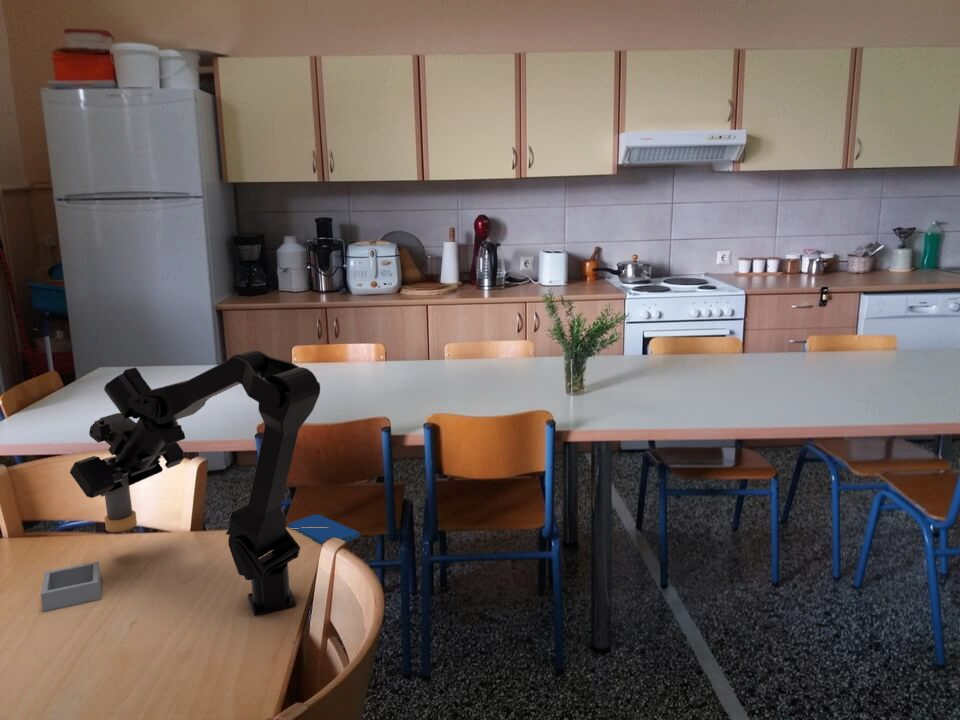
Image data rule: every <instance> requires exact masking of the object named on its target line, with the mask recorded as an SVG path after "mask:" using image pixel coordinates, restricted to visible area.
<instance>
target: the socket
mask: <svg viewBox="0 0 960 720" xmlns="http://www.w3.org/2000/svg"><path fill="white" fill-rule="evenodd" d="M101 583H102V574H101V567H100V561H99V560H98V561H94V562H88V563H84V564H79V565H74V566H69V567H63V568H57V569H55V570H54V569H53V570H49V571H44V574H43V581H42V585H41V586H42V587H41V590H40V597H41V603H42V610H43V612H49V611H52V610H57V609H61V608H62V609H63V608H67V607H71V606H74V605H75V606H76V605H81V604H85V603H90V602H93V601H99V600H101V599H102V598H101V595H102V594H101V593H102V591H101V590H102V587H101V586H102V585H101Z"/></svg>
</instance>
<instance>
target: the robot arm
mask: <svg viewBox="0 0 960 720" xmlns="http://www.w3.org/2000/svg"><path fill="white" fill-rule="evenodd" d="M238 385H241V386H242V388H243V389H244V392H245V393H246V395H247V397H249V398H250V399H252V400H254V401H255V402H257V403H258V413H259V415H260V416H261V419H262V421H263V424H264V428H263V434H262V436H261V437H262V438H261V441H260V447H259V451H258V456H257V461H256V466H255V471H254V475H253V480H252V484H251V490H250V493H249V494H250V495H249V498H248V503H247V504H246V505H244V506H242V507H240V508H238V509H236V510H234V511H232V512H231V515H230V519H229V527H228V529H227V531H226V533H225V534H226V536H228V541H227V542H228V548H229V550H230V553H231V557H232V560H233V562H234V565H235V567H236V570H237V573H238V575H240V576H243V577H244V580H245V581H251V582H250V583H251V593H248V594H247V599H248V601H249V606H250V607H251V610H252V613H253V615H254V616H261V615H265V614H267V613H271V612H276V611H279V610H283V609H287V608H291V607H292V608H293V607H295V606H296V605H297V601H296V598H295V595H293V592H292V590H291V588H290V576H289V575H290V574H289V563H290V562H292V561H293V560H295V559H297V558H298V557H299V554H300V550H301V546H300V545H299V544H298V542H297V541H296V540H295V538H294V537H293V535H292V534H291V533H290V531H288V530H287V517H286V515H285V513H284V511H283V509H282V503H283V499H284V495H285V490H286V487H287V482H288V481H287V480H288V478H289V473H290V470H291V469H290V468H291V464H292V460H293V457H294V452H295V447H296V444H297V438H298V435H299V431H300V429H301V427H302V425H303V424H304V423H305V422H306V420H307V419H308V418H309V416H310V415H311V413H312V412H313V411H314V409H315V406H316V403H317V401H318V399H319V397H320V393H321V384H320V382H319V381H318V380H317V377H316V375H315V374H314V373H313V372H312V371H311V370H310V369H309V368H306V367H300V366H298V365H296V364H295V363H293V362H289V361H286V360H284V359H283V360H282V359H279V358H276V357H271V356H269V355H268V354H266V353H264V352H262V351H259V350H254V349H253V350H250V351H245V352H240V353H237V354H234V355H232V356H231V357H230V358H229V359H227V360H225V361H224V362H222V363H219V364H218V365H215V366H214V367H212V368H209V369H208V370H206V371H204V372H201V373H200V374H198V375H196V376H193V377H192V378H191V379H187V380H184V381H182V380H181V381H180V382H175V383H173V384H168V385H164V386H161V387H157V388H151V387H150V386H149V384H148V383H147V381H146V380H145V379H144V378H143V375H142V374H141V373H140V371H139V370H138V368H137V367H131V368H126V369H125V370H124V371H123V373H121V374H119V375H117V376H116V377H114V378H113V379H112V380H110V381H109V382H108V381H107V383H106V384H105V386H104V387H103V391H104V393H105V394H106V395H107V397H108V398H109V399H110V401H111V402H112V403H113V404H114V405H115V407H116V409H118V411H119V412H117V413H113V414H109V415H106V416H101V417H100V418H99V419H98V420H95V421H94V423H93V424H92V425H90V428H89V433H88V434H89V437H90V438H92V439H93V440H94V441H95V442H97V444H98V443H99V444H100V443H102V442H105V443H106V444H108V445H109V448H108V449H107V450H108V452H109V453H110V454H111V456H116V457H115V458H112V459H109V460H108V462H109V464H110V465H108V464H107V463H106V462H105V460H104V459H105V458H103V459H101V458H100V457H99V456H96V455H92V456H90V457H86V458H83V459H81V460H77V461H75V462H74V463H73V465H72V466H71V468H70V470H69V474H70V475H71V476H72V478H73V479H74V481H75V482H76V483H77V485H78V486H79V487H80V489H81V491H82V492H83V493H84V495H85V496H86V497H87V498H90V499H93V498H96V497H99V496H100V497H105V495H107V494H109V493H111V492H113V491H115V490H118V489H120V488H122V487H123V485H122V484H121V482H120V480H122V478H123V475H125V474H128V481H129V487H130V486H133V485H134V484H136V483H139V482H141V481H143V480H146V479H148V478H150V477H153V476H155V475H158V474H159V473H162V472H163V467H162V466H161V464H160V462H161V461H160V460H161V458H163V459H164V460H165V461H166V462H165V464H164V466H165V468H166V469H171V468H173V467H176V466H178V465H180V464H181V463H182V462H183V460H184V459H185V451H184V450H183V448H182V447H181V446H180V444H179V443H178V442H180V441H182V440H183V441H184V440H185V439H186V435H185V431H184V430H183V429H182V428H183V427H182V425H181V424H179V423H178V420H180V419H183V418H186V417H189V416H193V415H194V414H197V412H198V411H200V410H201V409H202V408H203V407H205V405H206V402H207V401H208V400H209V399H211V398H212V397H215V396H217V395H219V394H221V393H224V392H225V391H228V390H229V389H231V388H234V387H236V386H238ZM131 418H132V419H131ZM133 419H134V420H135V419H136V420H137V419H138V420H137V421H134V420H133Z"/></svg>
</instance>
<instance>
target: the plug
mask: <svg viewBox="0 0 960 720" xmlns="http://www.w3.org/2000/svg"><path fill="white" fill-rule="evenodd" d="M115 457H116V456H115V455H112V456H108V457H105V458H103V459H104V460H105V462H106V463H107V464H108V465H110V464H109V462H108V460H109V459H112V458H115ZM120 482H121V484H122V485H123V487H122V488H120V489H118V490H115V491H113V492H111V493H109V494H107V495H105V496H104V499H105V510H106V515H105V516H104V524H105V525H104V526H105V530H106V531H107V532H108V533H109V532H110V533H121V532H125V531H128V530H131V529H132V528H134V527H136V526H137V525H138V522H137V513H136V511H135V510H133V505H132V498H131V497H132V496H131V489H130V486H129V481H128V474H125V475H123V478H122V480H120Z"/></svg>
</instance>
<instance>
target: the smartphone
mask: <svg viewBox="0 0 960 720" xmlns="http://www.w3.org/2000/svg"><path fill="white" fill-rule="evenodd" d="M301 527H329V528H301ZM287 528H289V529H290V528H299V529H291V530H292V531H294V530H296V531H297V532H296V531H295V532H296V533H298V532H299V533H298V534H300V533H302V534H303V535H305V536H307V537H309V538H311V539H312V540H311V539H310V540H311V541H313V540H314V541H313V542H315V543H317V544H319V545H320V546H322V544H323V543H324V542H325V541H326V540H327V539H329V538H333V537H335V538H340V539H343V540H345V541H346V543H349V542H351V541H354V540H356V539H358V538H360V537H361V534H360V533H361V532H360V531H358V530H355V529H353V528H351V527H349V526H347V525H345V524H342V523H339V522H337V521H336V520H333V519H331V518H328V517H326V516H324V515H322V514H318V513H315V514H311V515H308V516H305V517H303V518H301V519H297V520H295V521H292V522H290V523H288V524H287ZM302 534H301V535H302ZM303 535H302V536H303ZM305 536H304V537H305ZM307 537H306V538H307ZM309 538H308V539H309ZM346 543H345V544H346Z"/></svg>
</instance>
